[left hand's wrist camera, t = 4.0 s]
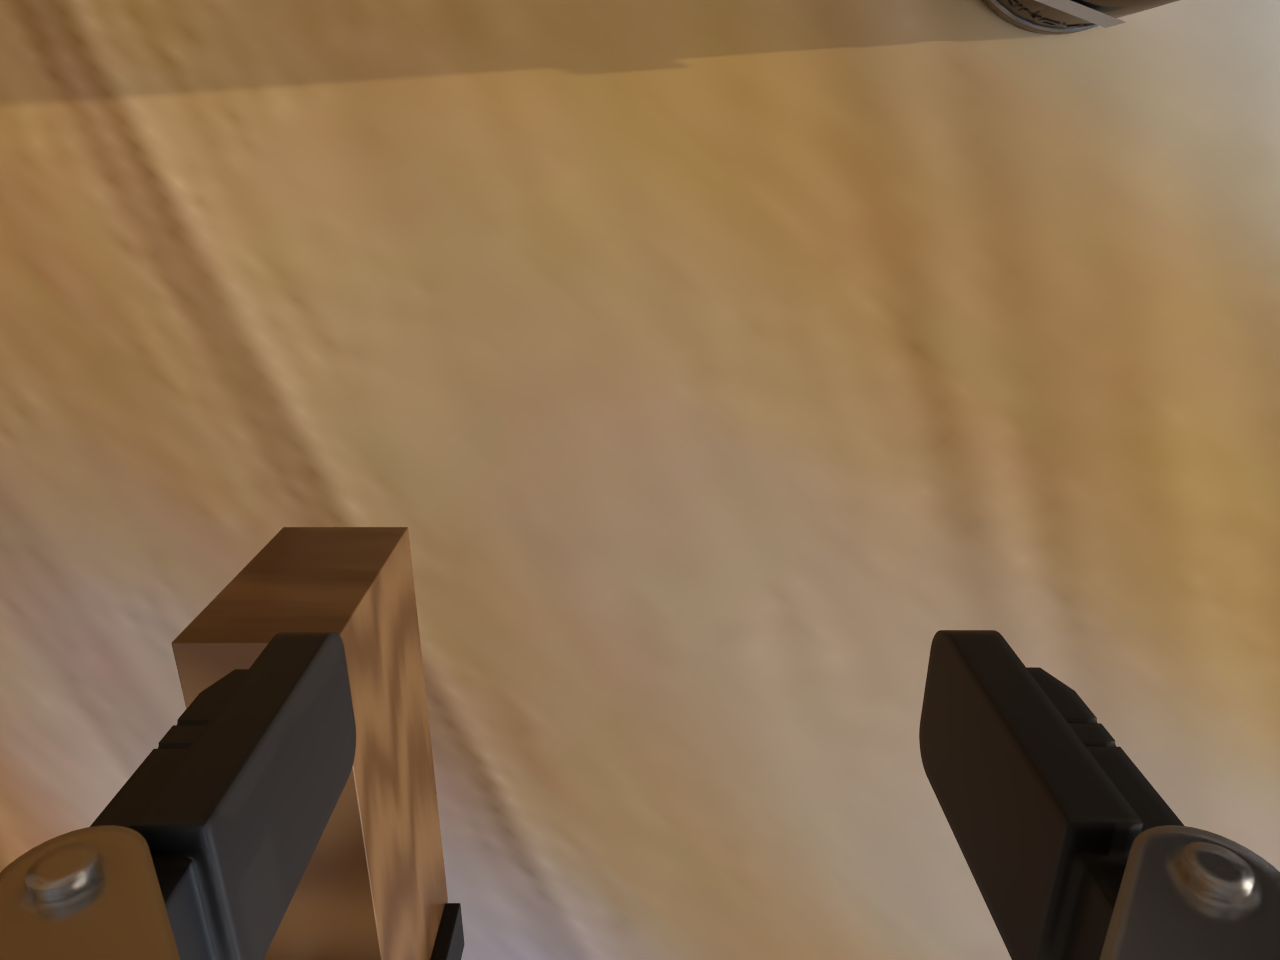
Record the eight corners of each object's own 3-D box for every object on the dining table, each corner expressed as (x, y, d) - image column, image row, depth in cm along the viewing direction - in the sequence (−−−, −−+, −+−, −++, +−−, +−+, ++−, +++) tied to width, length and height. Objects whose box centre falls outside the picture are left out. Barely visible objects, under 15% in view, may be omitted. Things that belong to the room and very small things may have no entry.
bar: (283, 526, 35) (170, 642, 26) (408, 526, 35) (334, 642, 26) (356, 972, 44) (289, 1163, 35) (455, 972, 44) (412, 1163, 35)
